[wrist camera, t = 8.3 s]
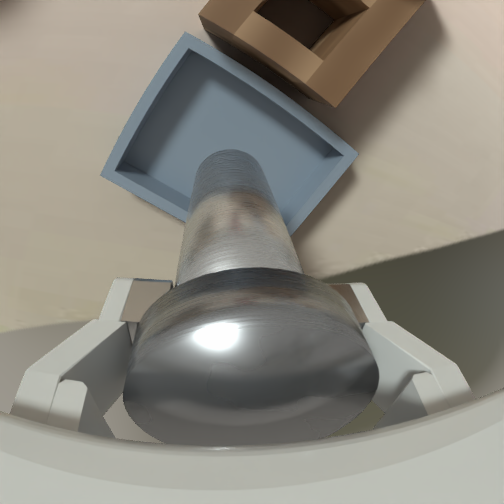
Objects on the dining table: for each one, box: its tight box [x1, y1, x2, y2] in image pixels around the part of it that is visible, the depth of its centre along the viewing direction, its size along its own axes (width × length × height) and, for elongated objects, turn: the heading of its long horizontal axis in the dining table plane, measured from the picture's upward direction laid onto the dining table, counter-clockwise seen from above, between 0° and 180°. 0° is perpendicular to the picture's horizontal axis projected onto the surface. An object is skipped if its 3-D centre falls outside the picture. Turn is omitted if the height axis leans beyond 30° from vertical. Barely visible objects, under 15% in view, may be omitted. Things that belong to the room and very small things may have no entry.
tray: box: [100, 32, 359, 236], centre depth 21 cm, size 14×11×3 cm
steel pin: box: [123, 149, 379, 446], centre depth 11 cm, size 5×5×12 cm
